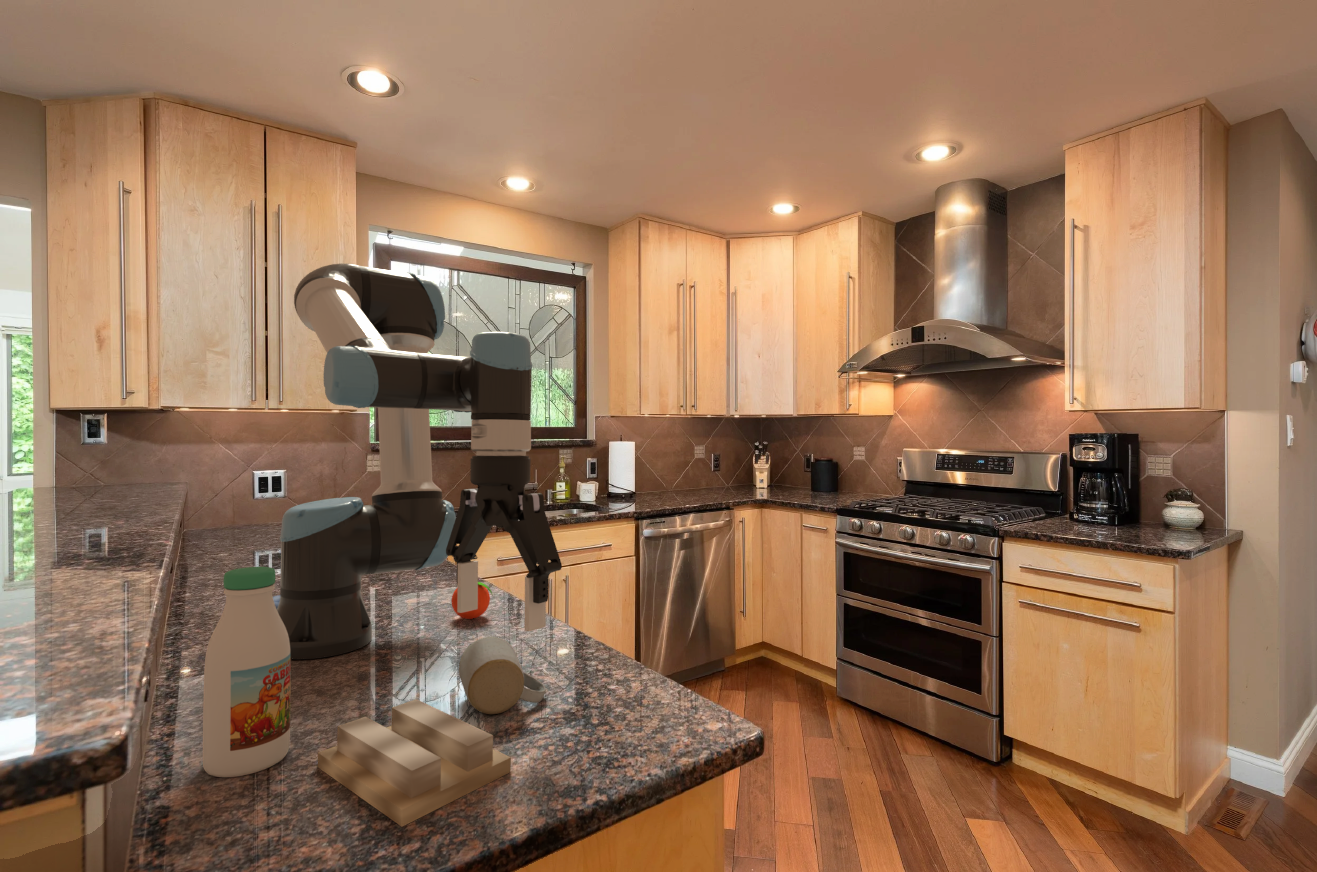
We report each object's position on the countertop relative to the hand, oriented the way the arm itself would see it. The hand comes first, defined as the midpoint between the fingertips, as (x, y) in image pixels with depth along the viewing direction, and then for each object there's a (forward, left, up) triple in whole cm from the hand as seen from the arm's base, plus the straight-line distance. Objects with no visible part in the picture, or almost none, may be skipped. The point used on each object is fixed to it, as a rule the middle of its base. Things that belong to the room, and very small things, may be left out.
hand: (499, 619), depth 83 cm
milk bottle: (-8, -26, -11) cm, 29 cm away
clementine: (-34, +21, -11) cm, 42 cm away
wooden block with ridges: (+7, -16, -11) cm, 20 cm away
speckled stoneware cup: (0, +1, -11) cm, 11 cm away
